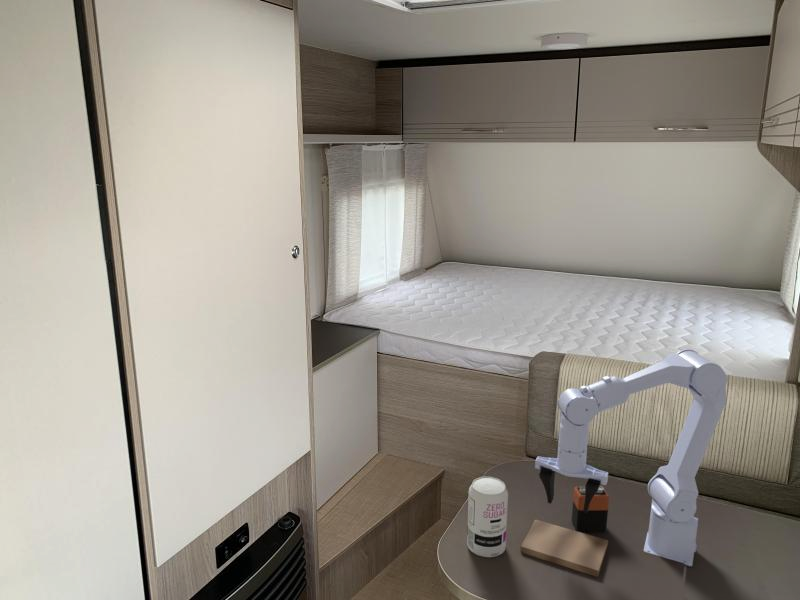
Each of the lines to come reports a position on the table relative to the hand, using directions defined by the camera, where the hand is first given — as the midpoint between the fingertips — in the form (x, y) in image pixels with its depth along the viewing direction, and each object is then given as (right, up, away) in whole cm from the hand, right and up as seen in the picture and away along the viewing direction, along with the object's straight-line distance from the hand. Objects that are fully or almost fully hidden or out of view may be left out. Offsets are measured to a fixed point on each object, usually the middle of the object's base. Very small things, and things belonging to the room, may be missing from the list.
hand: (568, 505), depth 125 cm
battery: (+8, -9, +10) cm, 15 cm away
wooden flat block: (0, -10, +2) cm, 10 cm away
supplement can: (-17, -10, +3) cm, 20 cm away
